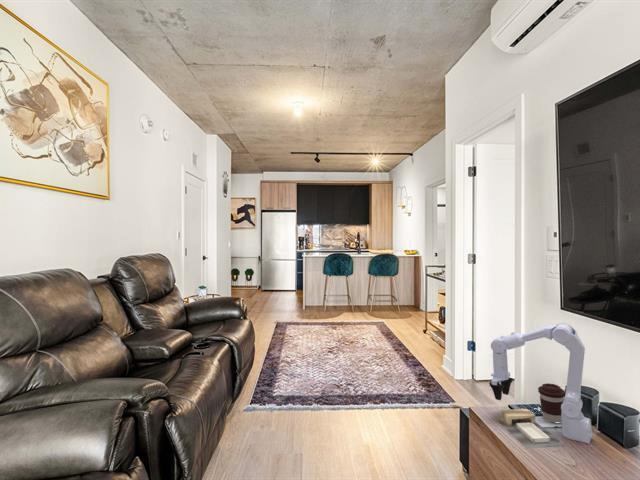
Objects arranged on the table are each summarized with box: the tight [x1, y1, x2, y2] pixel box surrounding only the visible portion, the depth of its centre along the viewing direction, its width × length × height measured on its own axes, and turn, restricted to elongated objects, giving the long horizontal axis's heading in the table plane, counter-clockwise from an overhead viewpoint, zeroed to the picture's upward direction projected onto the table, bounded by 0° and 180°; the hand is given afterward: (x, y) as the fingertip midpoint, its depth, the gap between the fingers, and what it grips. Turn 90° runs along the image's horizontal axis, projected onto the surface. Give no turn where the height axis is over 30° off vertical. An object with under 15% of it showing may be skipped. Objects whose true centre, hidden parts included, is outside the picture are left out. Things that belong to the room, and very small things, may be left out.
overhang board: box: [496, 408, 566, 449], centre depth 150 cm, size 23×15×5 cm, turn 1°
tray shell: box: [516, 423, 550, 444], centre depth 147 cm, size 12×6×2 cm, turn 1°
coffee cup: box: [537, 383, 566, 423], centre depth 159 cm, size 10×10×15 cm
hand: (502, 396), depth 162 cm, fingers open, 7 cm apart
